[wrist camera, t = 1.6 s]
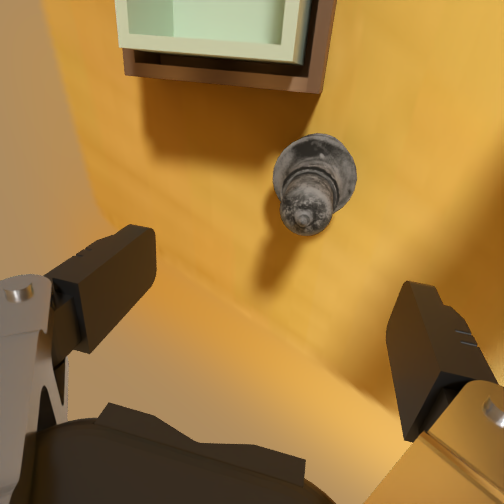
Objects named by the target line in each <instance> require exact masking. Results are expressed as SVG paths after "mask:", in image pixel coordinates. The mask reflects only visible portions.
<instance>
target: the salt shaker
mask: <svg viewBox="0 0 504 504" xmlns="http://www.w3.org/2000/svg"><path fill="white" fill-rule="evenodd" d="M356 181H357V173H356V166H355V163H354V160H353V158H352V156H351V155H350V153H349V152H348V151H347V149H346V148H345V147H344V145H343V144H342V143H341V142H340V141H339V140H337V139H336V138H335V137H332V136H330V135H327V134H320V133H316V134H310V135H307V136H305V137H302V138H300V139H299V140H297V141H295V142H293V143H291V144H290V145H289V146H288V147H287V148H285V149H284V150H283V152H282V153H281V155H280V156H279V157H278V159H277V162H276V164H275V167H274V171H273V184H274V190H275V192H276V194H277V197H278V199H279V200H280V201H281V203H280V215H281V219H282V221H283V223H284V224H285V226H286V227H287V228H288V229H289V230H291V231H292V232H294V233H296V234H298V235H303V236H311V235H315V234H318V233H319V232H321V231H322V230H324V229H325V228H326V226H327V225H328V224H329V222H330V220H331V218H332V214H333V213H335V212H337V211H338V210H340V209H341V208H342V207H343V206H344V205H345V204H346V203H347V202H348V201H349V200H350V198H351V196H352V194H353V192H354V190H355V185H356Z"/></svg>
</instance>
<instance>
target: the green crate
mask: <svg viewBox="0 0 504 504" xmlns="http://www.w3.org/2000/svg"><path fill="white" fill-rule="evenodd" d="M311 7H312V0H115V9H116V19H117V30H118V41H119V47H120V48H127V49H134V50H140V51H147V52H154V53H161V54H167V55H178V56H190V57H202V58H214V59H226V60H238V61H250V62H263V63H275V64H287V65H299V66H304V60H305V53H306V45H307V37H308V30H309V22H310V15H311Z"/></svg>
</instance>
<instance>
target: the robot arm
mask: <svg viewBox="0 0 504 504" xmlns="http://www.w3.org/2000/svg"><path fill="white" fill-rule="evenodd" d="M156 269H157V268H156V239H155V232H154V230H153V229H152V228H147V227H142V226H137V225H132V224H129V225H127V226H126V227H124V228H123V229H121V230H120V231H118V232H117V233H116V234H114V235H111V236H108V237H105V238H102V239H99V240H97V241H95V242H94V243H92V244H91V245H89V246H88V247H86V248H85V250H84V249H83V250H82V251H80V252H79V253H77V254H76V256H72V257H71V258H70V259H68V260H66V261H65V262H63V263H62V264H60V265H59V266H57V267H56V268H54V269H53V270H51V271H50V272H49V273H47V274H45V275H44V276H41V275H34V274H26V275H18V276H13V277H10V278H7V279H4V280H1V281H0V504H336V503H335V502H334V501H333V500H332V499H331V498H330V497H329V496H327V495H326V493H324V492H323V491H321V490H320V489H319V488H318V487H317V486H315V485H314V484H313V483H311V482H309V481H308V480H306V479H305V478H304V474H305V462H306V460H305V459H301V458H298V457H295V456H291V455H288V454H284V453H281V452H277V451H274V450H270V449H267V448H264V447H260V446H257V445H249V444H213V443H212V444H211V443H198V442H196V441H193V440H192V439H190V438H189V437H187V436H186V435H184V434H182V433H181V432H179V431H177V430H176V429H175V428H173V427H171V426H170V425H168V424H167V423H165V422H163V421H162V420H160V419H159V418H157V417H155V416H153V415H150V414H147V413H143V412H140V411H137V410H133V409H130V408H126V407H123V406H119V405H116V404H112V403H108V404H107V406H106V407H105V409H104V410H103V411H102V413H101V414H100V416H99V417H98V418H85V419H78V420H73V421H68V420H67V408H68V365H69V363H68V358H67V355H68V354H69V353H70V352H71V351H72V350H77V351H81V352H84V353H88V354H90V353H91V352H92V351H93V350H94V349H95V348H96V347H97V346H98V345H99V343H100V342H101V341H102V340H103V339H104V338H105V337H106V336H107V335H108V333H109V332H110V331H111V330H112V329H113V328H114V327H115V326H116V325H117V324H118V323H119V321H120V320H121V319H122V318H123V317H124V316H125V315H126V314H127V313H128V312H129V310H130V309H131V308H132V307H133V306H134V305H135V304H136V303H137V301H139V299H140V298H141V297H142V296H143V295H144V294H145V293H146V292H147V291H148V289H149V288H150V287H151V286H152V284H153V282H154V280H155V277H156ZM386 344H387V349H388V355H389V360H390V366H391V371H392V377H393V382H394V388H395V393H396V399H397V404H398V409H399V415H400V420H401V426H402V431H403V437H404V440H405V441H409V442H413V444H412V445H411V446H410V447H409V448H408V450H407V451H406V452H405V453H404V455H403V456H402V457H401V459H399V461H398V462H397V463H396V464H395V465H394V467H393V468H392V469H391V470H390V471H389V473H388V474H387V475H386V476H385V478H384V479H383V480H382V481H381V483H380V484H379V485H378V486H377V487H376V488H375V490H374V491H373V492H372V493H371V495H370V496H369V497H368V498H367V500H366V501H365V502H364V503H363V504H504V387H502V386H500V385H499V384H498V382H497V380H496V379H495V377H494V375H493V373H492V371H491V369H490V367H489V365H488V363H487V361H486V360H485V358H484V356H483V354H482V352H481V350H480V348H479V347H477V342H476V341H475V339H474V337H473V336H472V335H471V331H470V329H469V327H468V325H467V324H466V322H465V320H464V319H463V318H462V317H461V316H460V315H459V314H458V313H457V312H456V311H455V310H454V309H453V308H452V307H450V306H445V305H443V303H442V301H441V299H440V296H439V294H438V292H437V290H436V288H435V287H434V286H431V285H426V284H421V283H416V282H411V281H406V282H405V283H404V284H403V286H402V288H401V290H400V293H399V296H398V298H397V301H396V303H395V306H394V309H393V311H392V314H391V316H390V319H389V322H388V325H387V330H386Z"/></svg>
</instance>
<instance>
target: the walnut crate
mask: <svg viewBox="0 0 504 504" xmlns="http://www.w3.org/2000/svg"><path fill="white" fill-rule="evenodd" d="M336 2H337V0H312V7H311V15H310V22H309V30H308V37H307V45H306V53H305V60H304V66H299V65H287V64H275V63H263V62H250V61H238V60H226V59H214V58H202V57H190V56H178V55H167V54H161V53H154V52H147V51H140V50H134V49H127V48H123V59H124V71H125V75H128V76H138V77H149V78H159V79H170V80H180V81H190V82H201V83H211V84H222V85H232V86H243V87H253V88H264V89H274V90H285V91H295V92H305V93H316V94H320V93H321V92H322V90H323V84H324V77H325V71H326V65H327V59H328V52H329V46H330V40H331V33H332V27H333V21H334V15H335V8H336Z"/></svg>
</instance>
